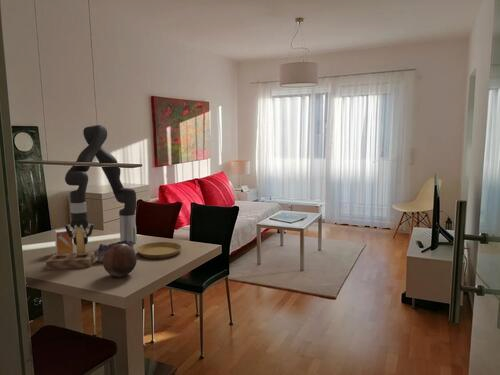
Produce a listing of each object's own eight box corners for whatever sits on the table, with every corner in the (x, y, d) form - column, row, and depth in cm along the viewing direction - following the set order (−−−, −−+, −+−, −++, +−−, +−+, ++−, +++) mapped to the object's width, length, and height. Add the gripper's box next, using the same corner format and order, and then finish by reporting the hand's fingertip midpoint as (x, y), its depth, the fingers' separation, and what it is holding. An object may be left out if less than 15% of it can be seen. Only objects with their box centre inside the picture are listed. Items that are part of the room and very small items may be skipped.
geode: (105, 265, 199) (102, 246, 198) (93, 263, 206) (90, 245, 205) (139, 254, 214) (136, 236, 213) (127, 253, 222) (124, 235, 221)
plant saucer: (188, 255, 215) (187, 249, 214) (144, 263, 202) (143, 256, 202) (172, 245, 235) (172, 239, 235) (132, 251, 223) (131, 245, 223)
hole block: (94, 259, 207) (94, 252, 207) (89, 267, 196) (89, 259, 195) (54, 261, 204) (53, 254, 203) (46, 269, 192) (45, 261, 192)
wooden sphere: (142, 271, 190) (141, 240, 188) (128, 282, 175) (126, 249, 173) (113, 269, 192) (112, 239, 190) (97, 280, 178) (95, 248, 176)
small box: (57, 255, 214) (56, 232, 212) (55, 252, 219) (54, 230, 218) (73, 253, 218) (72, 230, 217) (71, 250, 224) (70, 228, 222)
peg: (86, 251, 202) (84, 225, 200) (84, 254, 198) (82, 227, 196) (78, 252, 202) (76, 225, 200) (76, 254, 198) (74, 227, 196)
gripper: (95, 209, 202) (97, 241, 204) (65, 210, 200) (67, 243, 202) (92, 212, 195) (93, 245, 197) (61, 213, 192) (63, 247, 194)
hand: (80, 244), depth 199 cm, fingers closed on peg, 4 cm apart
